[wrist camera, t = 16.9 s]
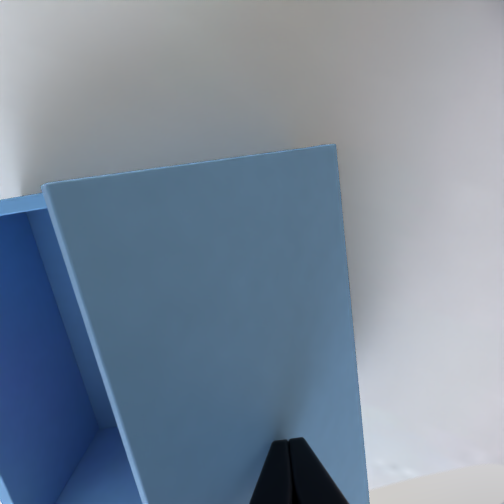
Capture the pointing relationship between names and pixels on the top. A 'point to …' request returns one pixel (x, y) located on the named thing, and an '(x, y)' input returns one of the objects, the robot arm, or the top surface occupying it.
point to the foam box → (51, 377)
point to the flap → (218, 317)
